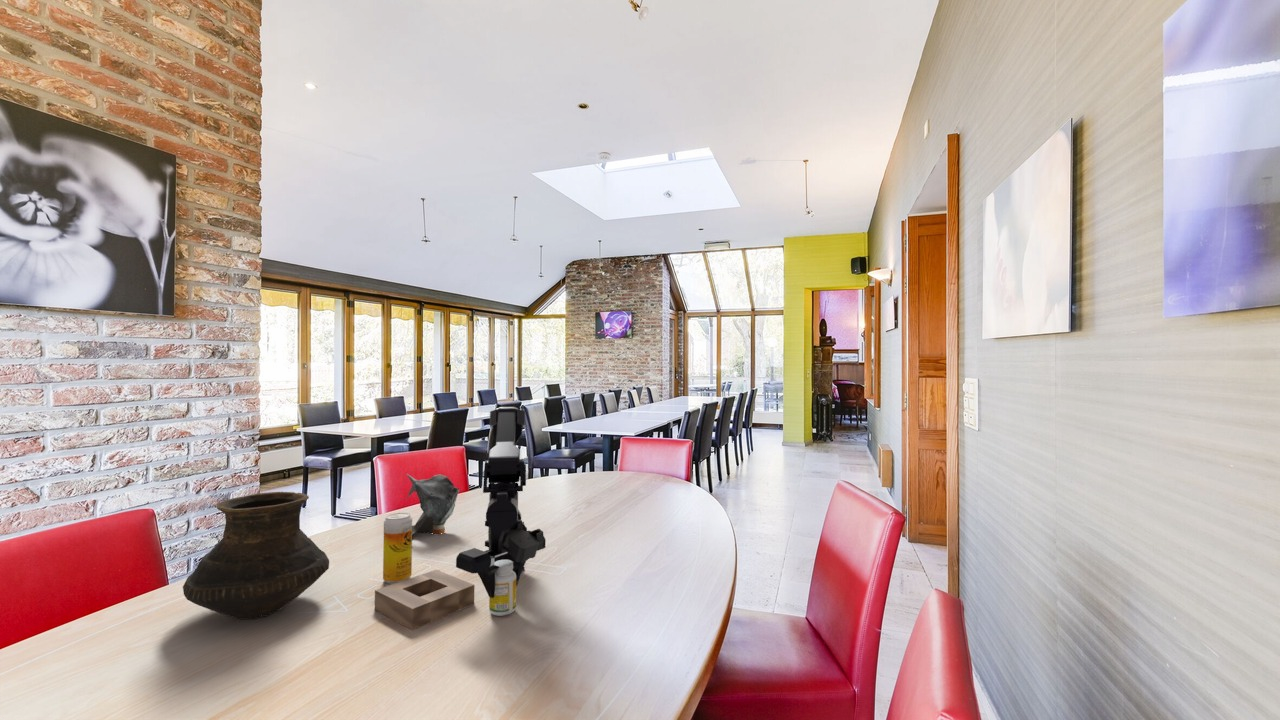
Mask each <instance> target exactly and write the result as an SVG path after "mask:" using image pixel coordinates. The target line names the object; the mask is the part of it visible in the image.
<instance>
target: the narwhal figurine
mask: <svg viewBox="0 0 1280 720" xmlns="http://www.w3.org/2000/svg"><path fill="white" fill-rule="evenodd" d="M406 475H407V477H408V479H409V480H410V483H411V487H410V489H409V492H408V494H407V497H406V500H408V499H409V498H410V496H411V495H412V494H413V493H414V492H416V496H417V497H418V500H419V504H420V505H419V506H420V508H421V510H422V513H421V515H420V517H419V518H418V520H416V523H415V524H414V525H413V524H412V536H413V535H414V533H415V534H431V533H433V534H432V535H434V534H440V535H442V534H441V533H443V534H445V533H446V531H445V530H446V527H445V525H446V522H447V521H448V519H449V518H450V517H451V516H452V515H453V513H454V509H455V507H456V503H457V502H456V501H457V498H458V495H459V493H460V488H458V487H456V486H455V485H454V483H453V481H452V480H451V479H450V478H449V477H448V476H446V475H443V474H435V475H433V476H431V477H430V478H424V479H416V478H414V477H413V476H411V475H410V474H408V473H406ZM444 532H445V533H444Z"/></svg>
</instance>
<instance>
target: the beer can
mask: <svg viewBox="0 0 1280 720" xmlns="http://www.w3.org/2000/svg"><path fill="white" fill-rule="evenodd" d="M412 526H413V518H412V516H411V514H410V513H408V512H397V513H391V514H387V515H386V516H385V518H384V520H383V550H382V551H383V554H382V555H383V558H382V561H383V562H382V569H383V570H382V571H383V572H382V580H383V581H384V582H385V583H386V584H388V585H392V584H395V583H398V582H401V581H404V580H407V579H410V578H411V576H412V575H413V574H412V570H413V569H412V568H413V567H412V563H413V562H412V559H413V557H412V555H413V535H412Z"/></svg>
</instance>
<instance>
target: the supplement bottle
mask: <svg viewBox="0 0 1280 720" xmlns="http://www.w3.org/2000/svg"><path fill="white" fill-rule="evenodd" d="M494 565H496V566H499V568H498V570H497V571H496V572H495V592H494V597H493V598H491V597H489V596H488V599H489V600H488V601H489V603H488V604H489V605H488V606H489V612H490V614H491V615H494V616H499V617H501V616H502V617H503V616H507V615H510V614H512V613H513V612H515V610H516V609H517V587H516V573H515V572H514V571H512V570H513V562H512V561H511V560H499V561H496V562H494Z"/></svg>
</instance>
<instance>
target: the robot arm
mask: <svg viewBox="0 0 1280 720" xmlns="http://www.w3.org/2000/svg"><path fill="white" fill-rule="evenodd" d="M525 427H526V411H525V410H522V409H520V408H519V407H515V406H499V407H497V408H496V409H494V410H491V411H490V412H489V428H490V429H492V435H493V437H494V439H495V445H494V446H493V447H492V448H490V449H489V451H488V457H487V460H484V465H483V466H484V467H483V469H484V470H483V485H482V486H483V487H482V493H483V494H485V493H486V494H487V493H488V494H489V499H488V500H489V501H488V505H487V509H486V512H485V521H484V527H487V528H488V530H487V531H488V534H487V535H488V536H487V537H488V539H487V540H485V541H484V547H486V548H488V549H486V550H481V549H480V548H479V549H478V548H476V547H473V548H471V549H467V550H463V551H460V552H459V553H458V554H457V556H456V559H455V568H457V569H459V570H462V571H464V572H467V573H469V574H472V575H473V574H477V575H478V577H479V579H480V580H481V582H482V585H483V588H485V590H486V593H487V595H488V598H489V597H491V598H493V597H494V592H495V572H496V571H497V570H498V568H499V566H496V565H494V562H496V561H499V560H511V561H512V562H513V570H512V571H514V572H515V573H516V588H517V586H518V584H519V580H520V578H521V576H522V573H523V571H525V564H526V562H527V561H528V560H529V559H534V558H535V557H536V555H537V552H538V551H541V550H543V549H546V537H545V536H544V531H543V530H541V528H537V529H534V530H528V527H527V526H526V524H525V522H524V521H523V520H522V514H521V511H520V510H519V492H523V491H524V489H523V488H524V486H525V487H526V486H527V465H526V463H525V460H524V459H522V458H521V459H520V455H521V454H520V453H521V450H520V448H519V447H517V443H518V441H519V439H520V438H521V436H522V435H523V428H525ZM519 483H520V485H519Z"/></svg>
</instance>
